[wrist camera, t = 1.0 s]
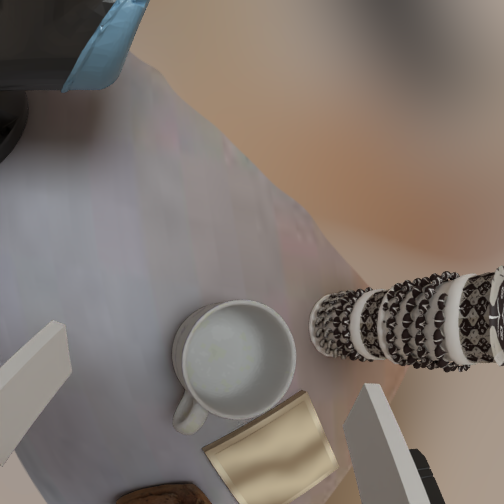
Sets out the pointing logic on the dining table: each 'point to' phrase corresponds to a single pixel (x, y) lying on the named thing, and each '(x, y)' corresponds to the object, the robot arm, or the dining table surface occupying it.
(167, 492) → the block
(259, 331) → the teacup
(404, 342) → the decorative candle
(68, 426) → the dining table surface
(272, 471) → the beige packet
